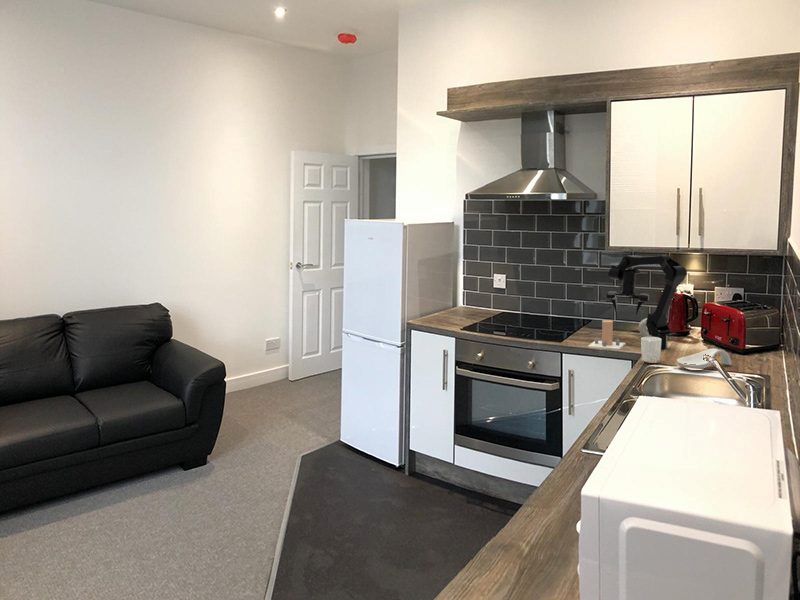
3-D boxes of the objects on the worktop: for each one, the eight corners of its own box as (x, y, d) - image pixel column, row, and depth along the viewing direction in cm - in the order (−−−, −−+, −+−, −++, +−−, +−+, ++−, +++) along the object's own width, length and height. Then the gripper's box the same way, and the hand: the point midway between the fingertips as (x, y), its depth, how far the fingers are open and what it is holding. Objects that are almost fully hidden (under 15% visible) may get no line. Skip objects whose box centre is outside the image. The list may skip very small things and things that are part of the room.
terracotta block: (612, 343, 293) (612, 320, 291) (612, 345, 288) (612, 322, 287) (601, 343, 294) (602, 320, 293) (601, 345, 290) (602, 321, 288)
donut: (638, 337, 307) (638, 317, 306) (638, 336, 311) (639, 316, 309) (659, 339, 303) (660, 319, 302) (660, 337, 306) (660, 317, 305)
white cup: (650, 365, 254) (651, 341, 252) (636, 361, 261) (636, 337, 260) (665, 362, 257) (665, 339, 255) (650, 359, 264) (651, 335, 263)
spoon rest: (693, 375, 238) (694, 356, 237) (670, 368, 249) (670, 350, 248) (738, 367, 247) (739, 350, 246) (714, 361, 258) (714, 344, 257)
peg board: (625, 344, 294) (625, 337, 293) (619, 350, 282) (619, 343, 281) (595, 341, 301) (595, 335, 300) (587, 347, 289) (588, 340, 289)
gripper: (651, 280, 299) (648, 312, 301) (610, 278, 307) (608, 308, 310) (649, 284, 289) (646, 316, 292) (607, 281, 297) (605, 313, 300)
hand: (626, 313), depth 298 cm, fingers open, 9 cm apart
